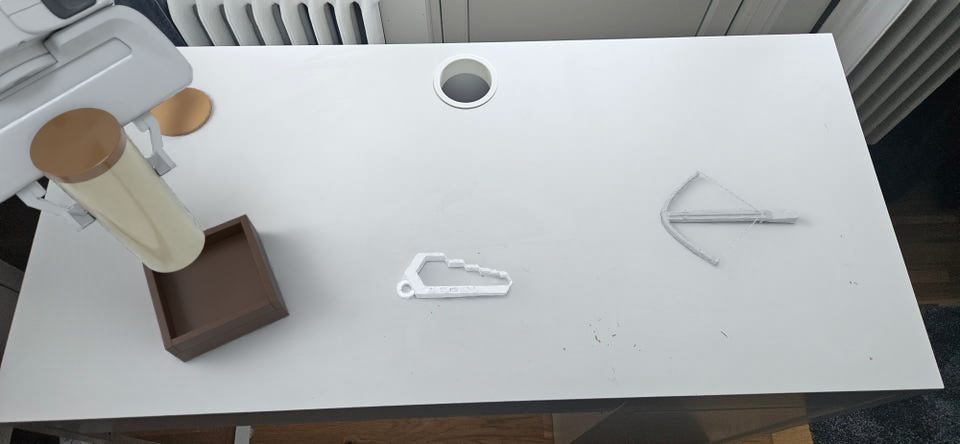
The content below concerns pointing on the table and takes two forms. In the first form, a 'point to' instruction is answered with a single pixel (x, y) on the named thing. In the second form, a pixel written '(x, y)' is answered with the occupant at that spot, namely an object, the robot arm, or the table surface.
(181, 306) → the tray
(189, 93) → the coaster
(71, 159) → the cylindrical canister
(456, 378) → the table surface
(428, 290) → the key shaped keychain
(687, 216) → the crossbow
